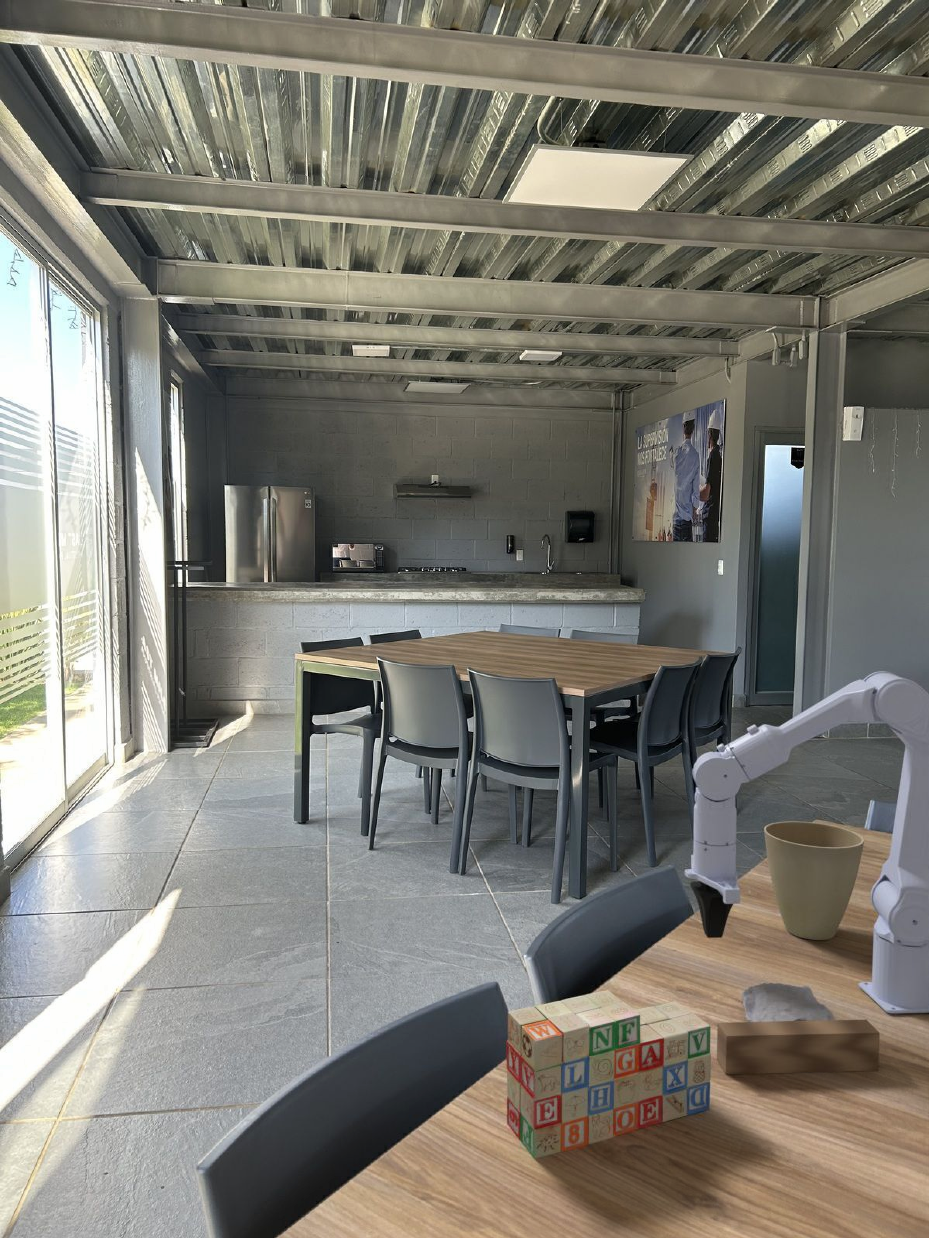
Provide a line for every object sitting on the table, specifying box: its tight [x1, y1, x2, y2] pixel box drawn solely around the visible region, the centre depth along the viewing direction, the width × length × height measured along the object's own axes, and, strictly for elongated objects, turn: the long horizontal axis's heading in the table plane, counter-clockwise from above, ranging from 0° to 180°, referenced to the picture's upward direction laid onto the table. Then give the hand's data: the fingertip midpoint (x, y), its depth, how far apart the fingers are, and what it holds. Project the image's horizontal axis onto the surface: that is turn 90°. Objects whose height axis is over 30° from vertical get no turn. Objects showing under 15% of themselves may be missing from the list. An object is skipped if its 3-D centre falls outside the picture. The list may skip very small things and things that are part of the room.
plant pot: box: [763, 820, 865, 941], centre depth 142 cm, size 15×15×16 cm
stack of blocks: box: [506, 989, 712, 1159], centre depth 93 cm, size 21×6×12 cm, turn 113°
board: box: [716, 1019, 881, 1075], centre depth 103 cm, size 18×3×4 cm, turn 93°
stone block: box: [741, 982, 836, 1022], centre depth 112 cm, size 12×5×10 cm
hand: (713, 935), depth 124 cm, fingers closed
